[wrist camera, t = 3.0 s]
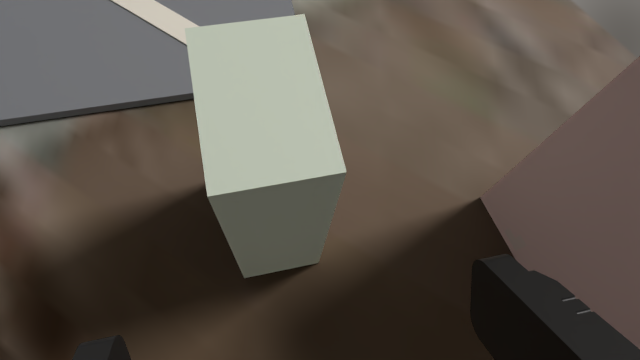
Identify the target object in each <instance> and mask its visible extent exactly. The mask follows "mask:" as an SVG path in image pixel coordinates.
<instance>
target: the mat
mask: <svg viewBox="0 0 640 360" xmlns="http://www.w3.org/2000/svg"><path fill="white" fill-rule="evenodd" d="M293 15H295V13H294V9H293V5H292V2H291V0H0V126H6V125H13V124H20V123H27V122H34V121H41V120H48V119H55V118H62V117H69V116H76V115H83V114H90V113H97V112H104V111H111V110H118V109H125V108H132V107H139V106H146V105H153V104H160V103H167V102H174V101H181V100H188V99H194V94H193V86H192V79H191V72H190V64H189V57H188V49H187V42H186V34H185V28H192V27H200V26H209V25H217V24H225V23H234V22H242V21H251V20H259V19H267V18H276V17H284V16H293Z"/></svg>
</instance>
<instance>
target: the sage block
mask: <svg viewBox="0 0 640 360" xmlns="http://www.w3.org/2000/svg"><path fill="white" fill-rule="evenodd" d="M185 34H186V42H187V49H188V57H189V64H190V72H191V79H192V86H193V94H194V101H195V109H196V116H197V124H198V131H199V139H200V146H201V154H202V161H203V168H204V176H205V183H206V191H207V197H208V199H209V202H210V204H211V206H212V208H213V210H214V213H215V215H216V217H217V219H218V221H219V224H220V226H221V228H222V230H223V232H224V235H225V237H226V239H227V241H228V243H229V246H230V248H231V250H232V252H233V255H234V257H235V259H236V261H237V263H238V266H239V268H240V270H241V272H242V274H243V277H244V278H248V277H253V276H258V275H262V274H267V273H272V272H277V271H282V270H287V269H292V268H296V267H301V266H306V265H311V264H316V263H319V259H320V256H321V253H322V250H323V246H324V243H325V240H326V237H327V234H328V230H329V227H330V224H331V221H332V217H333V214H334V211H335V208H336V204H337V201H338V198H339V195H340V192H341V188H342V185H343V182H344V179H345V175H346V168H345V165H344V161H343V157H342V153H341V150H340V146H339V142H338V138H337V135H336V131H335V127H334V123H333V120H332V116H331V112H330V108H329V105H328V101H327V97H326V93H325V90H324V86H323V82H322V78H321V75H320V71H319V67H318V63H317V59H316V56H315V52H314V48H313V44H312V41H311V37H310V33H309V29H308V26H307V22H306V18H305V14H301V15H293V16H284V17H276V18H267V19H259V20H251V21H242V22H234V23H225V24H217V25H209V26H200V27H192V28H185Z"/></svg>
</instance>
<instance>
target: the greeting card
mask: <svg viewBox="0 0 640 360" xmlns="http://www.w3.org/2000/svg"><path fill="white" fill-rule="evenodd" d="M480 198H481V200H482V202H483V204H484V205H485V207H486V209H487V211H488V212H489V214H490V216H491V218H492V219H493V221H494V223H495V225H496V226H497V228H498V230H499V232H500V233H501V235H502V237H503V238H504V240H505V242H506V244H507V245H508V247H509V249H510V251H511V252H512V254H513V256H514V258H515V259H516V261H518V262H519V263H520V264H521V265H522V266H523V267H524V268H526V269H527V270H528V271H532V270H535V271H537V272H539V273H541V274H544V275H546V276H548V277H550V278H552V279H554V280H556V281H558V282H559V283H560V284H562V285H563V286H564V287H565V288H566V289H568V290H569V291H570V292H571V293H572V294H574V295H575V298H576V299H580V300H581V301H582V302H583V303H584V304H586V305H587V306H588V307H589V308H590V310H591V312H593V311H594V312H595V313H597V314H598V315H599V316H600V317H601V318H603V319H604V320H605V321H606V322H607V323H609V324H610V325H611V326H612V327H613V328H615V329H616V330H617V331H618V332H619V333H621V334H622V335H623V336H624V337H626V338H627V339H628V340H629V341H630V342H632V343H633V344H634V345H635V346H636V347H638V348H639V349H640V56H639V57H638V58H637V59H636V60H635V61H634V62H633V63H631V64H630V65H629V66H628V67H627V68H626V69H625V70H623V71H622V72H621V73H620V74H619V75H618V76H617V77H616V78H614V79H613V80H612V81H611V82H610V83H609V84H608V85H606V86H605V87H604V88H603V89H602V90H601V91H600V92H599V93H597V94H596V95H595V96H594V97H593V98H592V99H591V100H590V101H588V102H587V103H586V104H585V105H584V106H583V107H582V108H580V109H579V110H578V111H577V112H576V113H575V114H574V115H573V116H571V117H570V118H569V119H568V120H567V121H566V122H565V123H564V124H562V125H561V126H560V127H559V128H558V129H557V130H556V131H554V132H553V133H552V134H551V135H550V136H549V137H548V138H547V139H545V140H544V141H543V142H542V143H541V144H540V145H539V146H538V147H536V148H535V149H534V150H533V151H532V152H531V153H530V154H528V155H527V156H526V157H525V158H524V159H523V160H522V161H521V162H519V163H518V164H517V165H516V166H515V167H514V168H513V169H512V170H510V171H509V172H508V173H507V174H506V175H505V176H504V177H502V178H501V179H500V180H499V181H498V182H497V183H496V184H495V185H493V186H492V187H491V188H490V189H489V190H488V191H487V192H486V193H484V194H483V195H482V196H481V197H480Z"/></svg>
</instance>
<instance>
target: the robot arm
mask: <svg viewBox="0 0 640 360" xmlns="http://www.w3.org/2000/svg"><path fill="white" fill-rule="evenodd" d="M470 311H471V320H472V324H473V327H474V330H475V332H476V334H477V336H478V338H479V339H480V341H481V342H482V343H483V345H484V346H485V347H486V348H487V350H488V351H489V352H490V354H491V355H492V356H493V358H494V359H495V360H640V349H639V348H638V347H636V346H635V345H634V344H633V343H632V342H630V341H629V340H628V339H627V338H626V337H624V336H623V335H622V334H621V333H619V332H618V331H617V330H616V329H615V328H613V327H612V326H611V325H610V324H609V323H607V322H606V321H605V320H604V319H603V318H601V317H600V316H599V315H598V314H597V313H595V312H594V311H593V312H591V310H590V308H589V307H588V306H587V305H586V304H584V303H583V302H582V301H581V300H580V299H576V298H575V295H574V294H572V293H571V292H570V291H569V290H568V289H566V288H565V287H564V286H563V285H562V284H560V283H559V282H558V281H556V280H554V279H552V278H550V277H548V276H546V275H544V274H541V273H539V272H537V271H535V270H532V271H528V270H527V269H526V268H524V267H523V266H522V265H521V264H520V263H519V262H518V261H516V260H515V259H514V258H513V257H512V256H510V255H508V254H502V255H497V256H493V257H488V258H483V259H479V260H476V261H474V263H473V266H472V283H471V310H470ZM72 360H131V358H130V355H129V352H128V350H127V347H126V344H125V341H124V339H123V338H122V336H120V335H116V336H111V337H107V338H102V339H97V340H93V341H88V342H83V343H81V344H80V345H79V346H78V348H77V349H76V352H75V354H74V357H73V359H72Z"/></svg>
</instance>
